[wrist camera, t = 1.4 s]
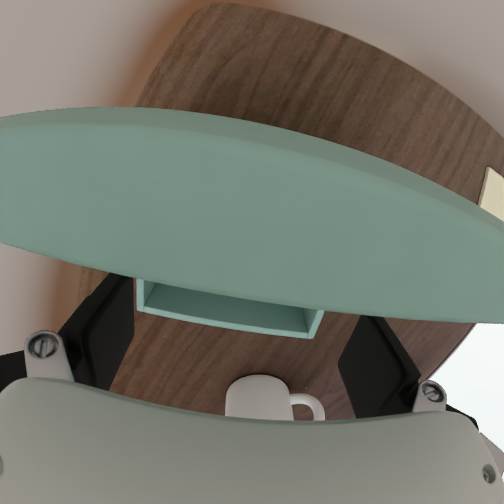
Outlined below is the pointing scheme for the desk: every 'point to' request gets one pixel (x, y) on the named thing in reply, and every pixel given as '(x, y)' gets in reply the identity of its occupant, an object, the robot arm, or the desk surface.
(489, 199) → the mat
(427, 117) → the desk surface
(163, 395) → the desk surface
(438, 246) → the lid
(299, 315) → the mint green open box
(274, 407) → the mug
